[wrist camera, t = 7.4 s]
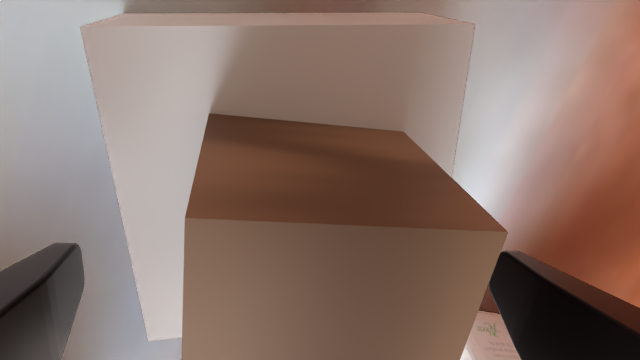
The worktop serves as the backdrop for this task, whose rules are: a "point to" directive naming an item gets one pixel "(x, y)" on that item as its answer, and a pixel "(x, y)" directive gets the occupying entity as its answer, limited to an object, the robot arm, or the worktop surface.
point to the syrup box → (489, 339)
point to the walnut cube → (329, 246)
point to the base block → (254, 105)
